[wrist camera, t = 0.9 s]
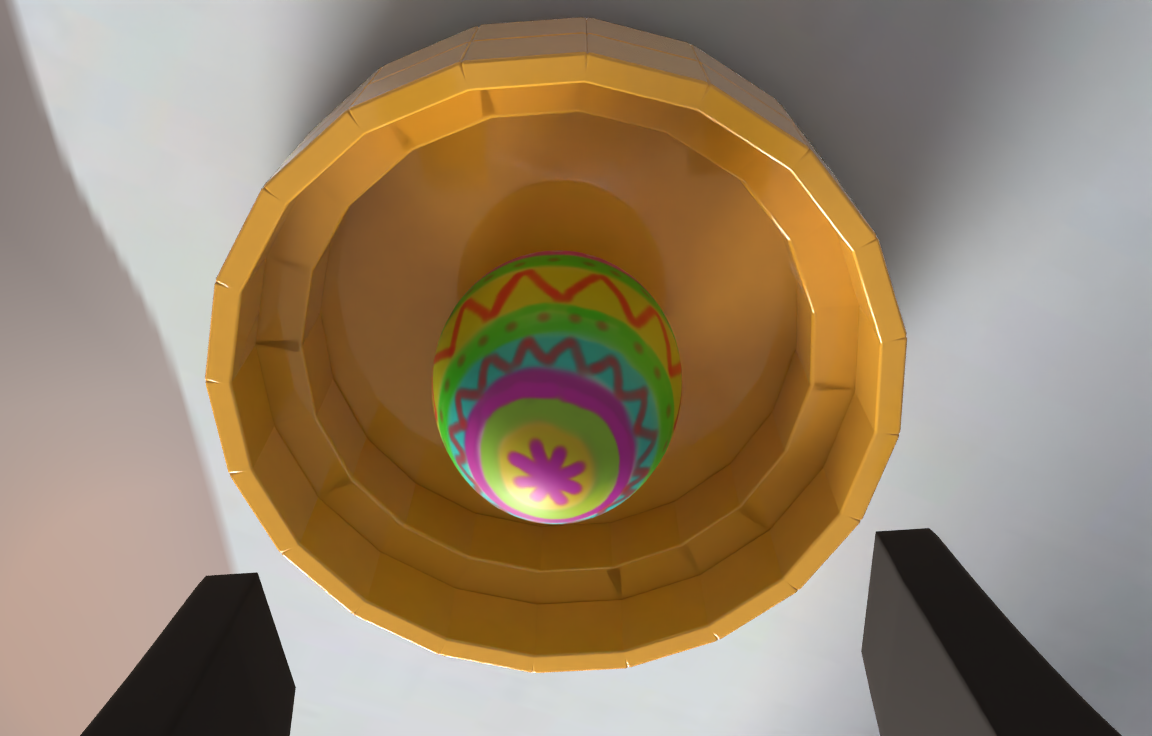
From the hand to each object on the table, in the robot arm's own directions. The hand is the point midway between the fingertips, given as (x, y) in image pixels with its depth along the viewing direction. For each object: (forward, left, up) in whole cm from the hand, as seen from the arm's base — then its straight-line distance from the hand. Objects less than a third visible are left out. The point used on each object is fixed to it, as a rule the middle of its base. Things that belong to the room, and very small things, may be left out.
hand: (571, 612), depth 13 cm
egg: (-2, 0, -11) cm, 12 cm away
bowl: (-2, 0, -12) cm, 12 cm away
